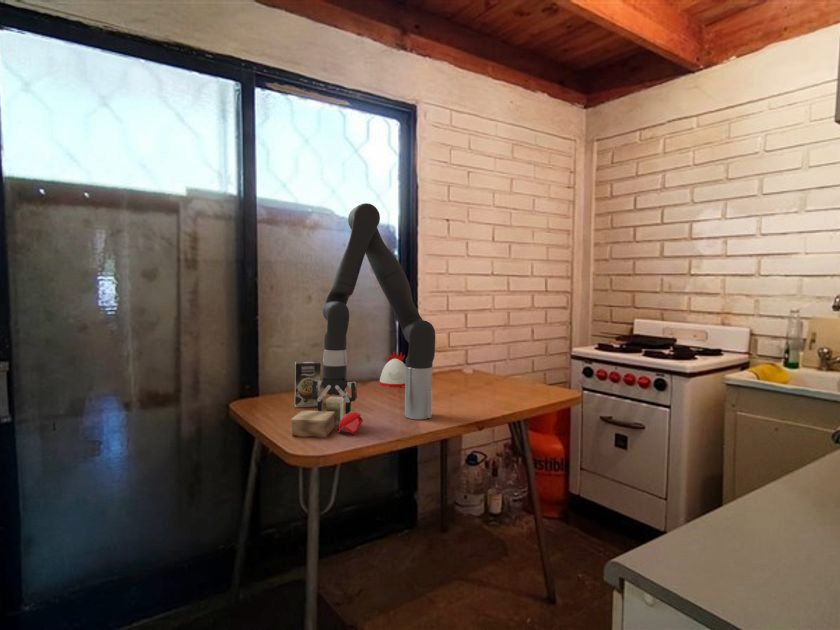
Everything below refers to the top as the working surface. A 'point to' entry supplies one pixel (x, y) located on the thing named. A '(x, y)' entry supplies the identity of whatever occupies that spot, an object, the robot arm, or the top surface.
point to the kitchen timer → (393, 372)
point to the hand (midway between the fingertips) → (334, 413)
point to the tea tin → (336, 408)
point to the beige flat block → (313, 423)
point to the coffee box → (306, 382)
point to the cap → (351, 423)
